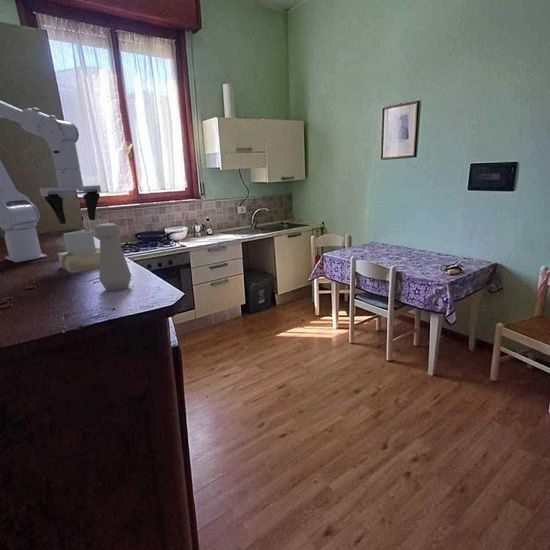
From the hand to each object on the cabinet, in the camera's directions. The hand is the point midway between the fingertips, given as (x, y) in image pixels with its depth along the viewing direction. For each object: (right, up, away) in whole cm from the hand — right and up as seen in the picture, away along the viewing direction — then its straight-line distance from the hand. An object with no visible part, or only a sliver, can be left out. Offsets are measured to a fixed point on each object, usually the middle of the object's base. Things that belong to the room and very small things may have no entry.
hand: (78, 221), depth 97 cm
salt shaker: (+22, -17, -25) cm, 38 cm away
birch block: (+5, -13, -5) cm, 14 cm away
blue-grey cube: (+4, -9, -6) cm, 12 cm away
